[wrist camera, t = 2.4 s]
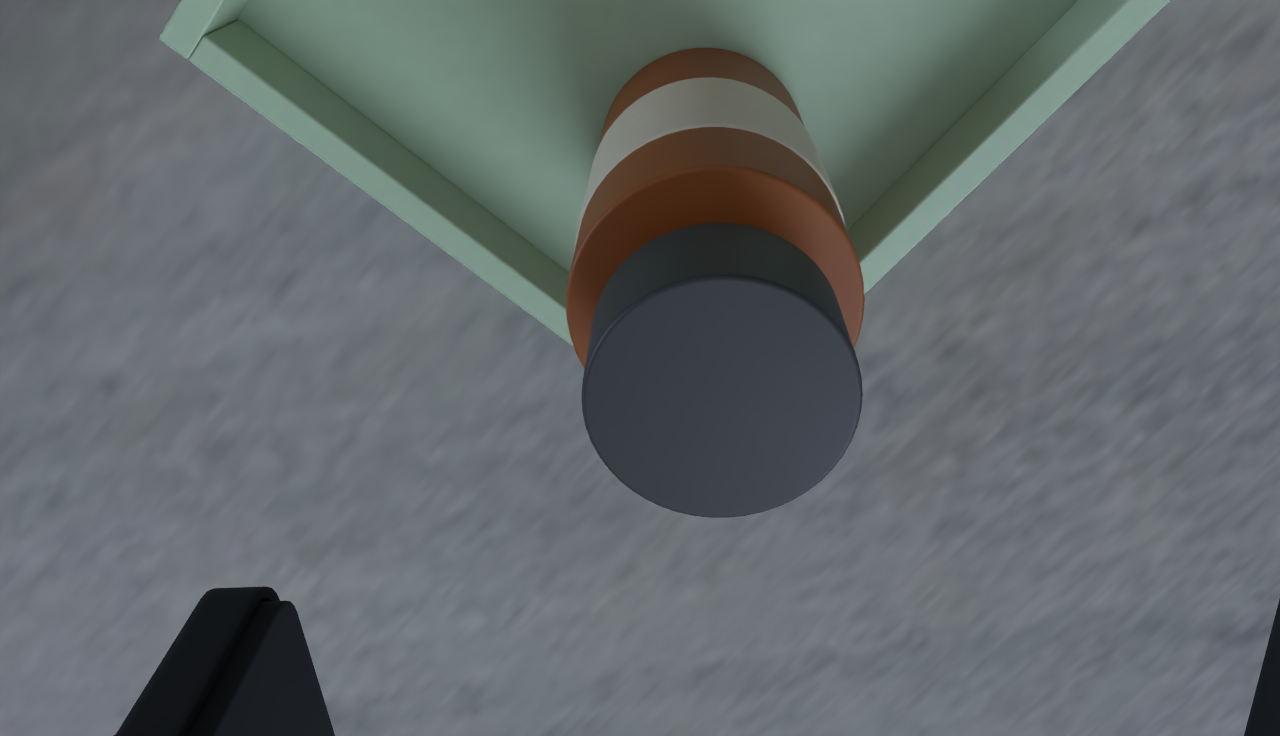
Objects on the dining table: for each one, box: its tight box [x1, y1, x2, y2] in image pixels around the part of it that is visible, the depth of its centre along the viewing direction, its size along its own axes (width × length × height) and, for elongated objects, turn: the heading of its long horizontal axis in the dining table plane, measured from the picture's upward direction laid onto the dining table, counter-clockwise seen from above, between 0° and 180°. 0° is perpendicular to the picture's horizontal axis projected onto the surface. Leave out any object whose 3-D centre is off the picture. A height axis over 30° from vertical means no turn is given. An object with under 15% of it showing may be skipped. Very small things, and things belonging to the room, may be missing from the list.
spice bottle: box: [566, 48, 865, 517], centre depth 19 cm, size 5×5×12 cm
